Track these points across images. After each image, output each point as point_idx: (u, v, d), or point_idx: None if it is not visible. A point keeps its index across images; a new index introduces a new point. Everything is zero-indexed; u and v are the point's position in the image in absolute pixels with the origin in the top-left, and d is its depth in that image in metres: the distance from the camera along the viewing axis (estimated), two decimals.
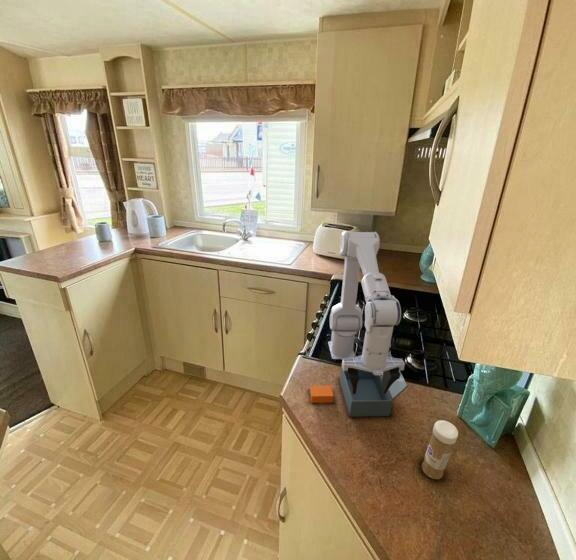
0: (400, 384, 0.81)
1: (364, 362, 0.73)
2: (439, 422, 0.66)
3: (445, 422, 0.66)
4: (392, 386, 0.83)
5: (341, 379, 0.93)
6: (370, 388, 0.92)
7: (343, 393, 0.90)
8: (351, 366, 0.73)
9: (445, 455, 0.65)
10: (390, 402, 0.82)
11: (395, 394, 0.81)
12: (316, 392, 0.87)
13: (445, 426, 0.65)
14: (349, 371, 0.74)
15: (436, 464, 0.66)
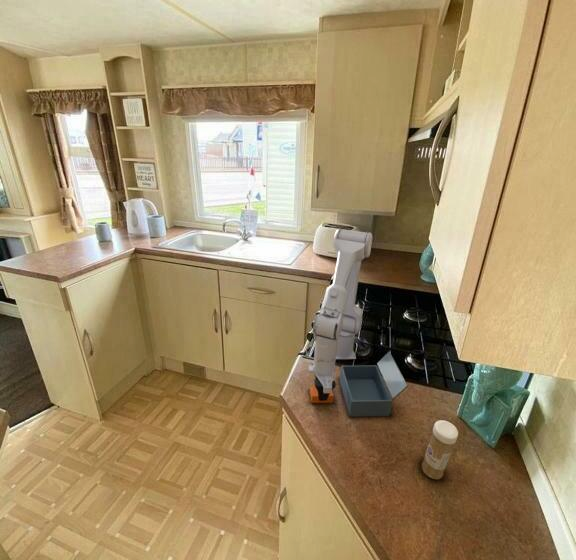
0: (400, 384, 0.81)
1: None
2: (439, 422, 0.66)
3: (445, 422, 0.66)
4: (392, 386, 0.83)
5: (341, 379, 0.93)
6: (370, 388, 0.92)
7: (343, 393, 0.90)
8: None
9: (445, 455, 0.65)
10: (390, 402, 0.82)
11: (395, 394, 0.81)
12: (316, 392, 0.87)
13: (445, 426, 0.65)
14: None
15: (436, 464, 0.66)
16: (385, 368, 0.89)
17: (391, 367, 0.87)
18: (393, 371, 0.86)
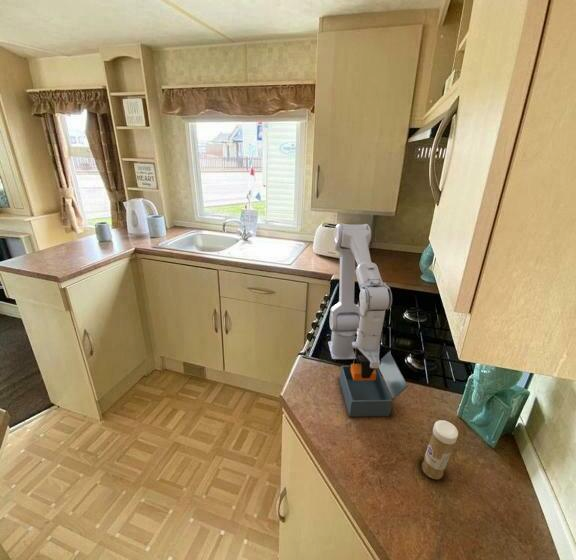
0: (400, 384, 0.81)
1: None
2: (439, 422, 0.66)
3: (445, 422, 0.66)
4: (392, 386, 0.83)
5: (341, 379, 0.93)
6: (370, 388, 0.92)
7: (343, 393, 0.90)
8: None
9: (445, 455, 0.65)
10: (390, 402, 0.82)
11: (395, 394, 0.81)
12: (358, 369, 0.85)
13: (445, 426, 0.65)
14: None
15: (436, 464, 0.66)
16: (385, 368, 0.89)
17: (391, 367, 0.87)
18: (393, 371, 0.86)
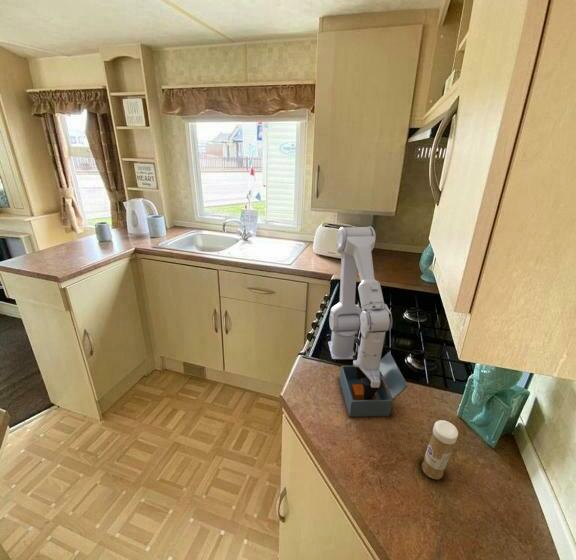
0: (400, 384, 0.81)
1: None
2: (439, 422, 0.66)
3: (445, 422, 0.66)
4: (392, 386, 0.83)
5: (341, 379, 0.93)
6: None
7: (343, 393, 0.90)
8: (358, 350, 0.89)
9: (445, 455, 0.65)
10: (390, 402, 0.82)
11: (395, 394, 0.81)
12: (358, 390, 0.88)
13: (445, 426, 0.65)
14: (358, 355, 0.90)
15: (436, 464, 0.66)
16: (385, 368, 0.89)
17: (391, 367, 0.87)
18: (393, 371, 0.86)
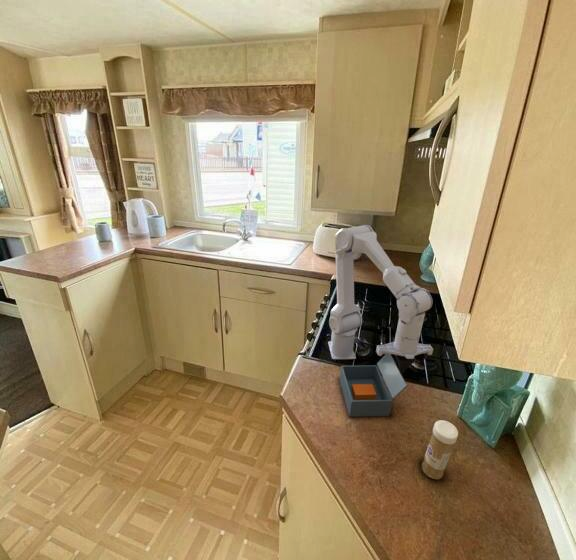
0: (400, 384, 0.81)
1: (397, 347, 0.81)
2: (439, 422, 0.66)
3: (445, 422, 0.66)
4: (392, 386, 0.83)
5: (341, 379, 0.93)
6: None
7: (343, 393, 0.90)
8: (385, 351, 0.81)
9: (445, 455, 0.65)
10: (390, 402, 0.82)
11: (395, 394, 0.81)
12: (358, 390, 0.88)
13: (445, 426, 0.65)
14: (398, 355, 0.83)
15: (436, 464, 0.66)
16: (385, 368, 0.89)
17: (391, 367, 0.87)
18: (393, 371, 0.86)
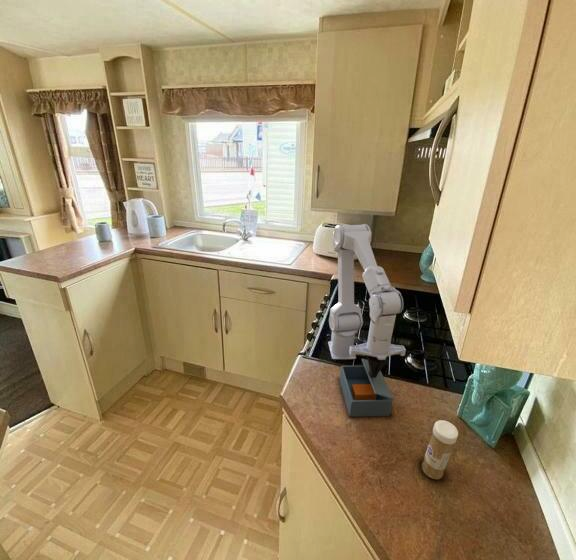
0: None
1: (369, 348, 0.81)
2: (439, 422, 0.66)
3: (445, 422, 0.66)
4: None
5: (341, 379, 0.93)
6: None
7: (343, 393, 0.90)
8: (358, 352, 0.81)
9: (445, 455, 0.65)
10: (390, 402, 0.82)
11: None
12: (358, 390, 0.88)
13: (445, 426, 0.65)
14: (369, 356, 0.82)
15: (436, 464, 0.66)
16: None
17: None
18: None
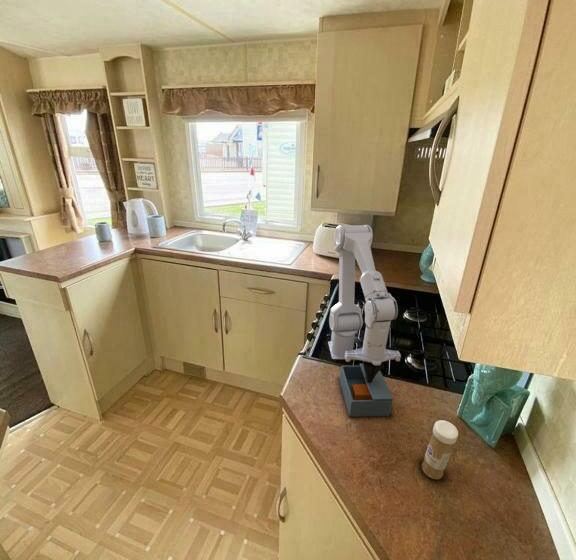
0: None
1: (364, 354, 0.82)
2: (439, 422, 0.66)
3: (445, 422, 0.66)
4: None
5: (341, 379, 0.93)
6: None
7: (343, 393, 0.90)
8: (353, 357, 0.82)
9: (445, 455, 0.65)
10: (390, 402, 0.82)
11: None
12: (358, 390, 0.88)
13: (445, 426, 0.65)
14: (364, 362, 0.83)
15: (436, 464, 0.66)
16: None
17: None
18: None
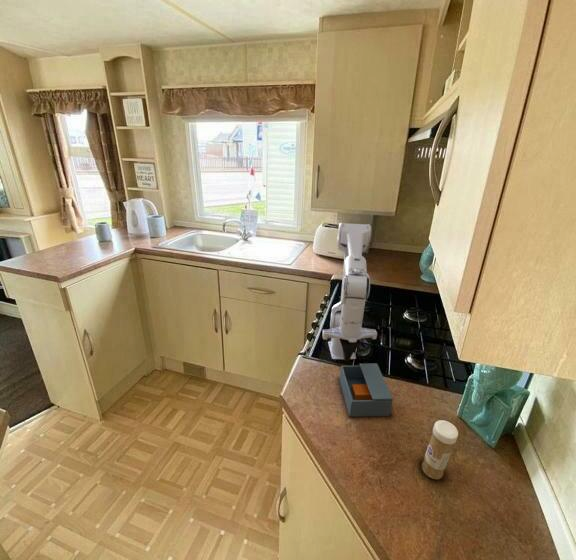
0: None
1: (341, 331, 0.83)
2: (439, 422, 0.66)
3: (445, 422, 0.66)
4: None
5: (341, 379, 0.93)
6: None
7: (343, 393, 0.90)
8: (330, 335, 0.83)
9: (445, 455, 0.65)
10: (390, 402, 0.82)
11: None
12: (358, 390, 0.88)
13: (445, 426, 0.65)
14: (341, 340, 0.85)
15: (436, 464, 0.66)
16: None
17: None
18: None
